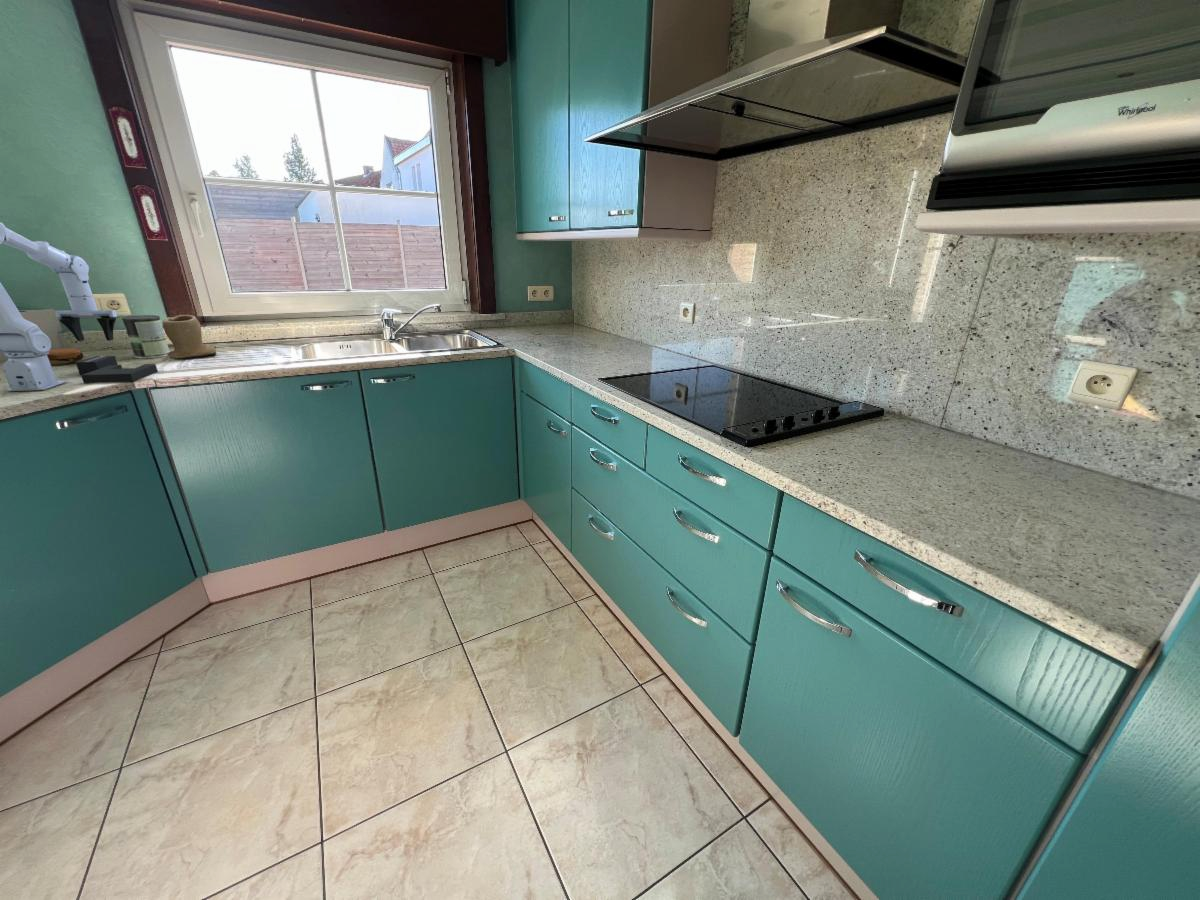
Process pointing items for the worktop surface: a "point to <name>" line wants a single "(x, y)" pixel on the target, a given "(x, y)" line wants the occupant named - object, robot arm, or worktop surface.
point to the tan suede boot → (186, 337)
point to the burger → (64, 356)
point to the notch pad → (119, 374)
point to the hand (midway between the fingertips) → (95, 340)
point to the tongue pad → (95, 363)
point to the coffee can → (146, 336)
